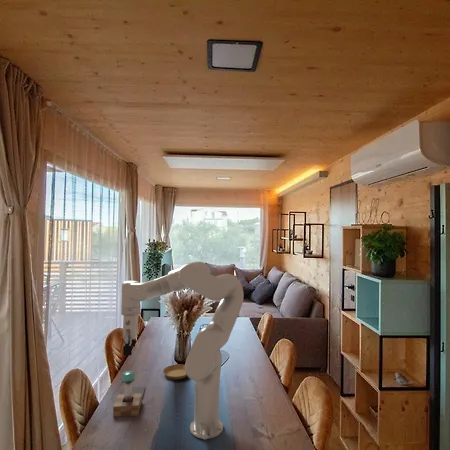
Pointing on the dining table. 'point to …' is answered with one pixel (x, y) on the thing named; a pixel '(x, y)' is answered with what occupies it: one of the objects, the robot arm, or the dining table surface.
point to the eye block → (127, 405)
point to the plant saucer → (175, 371)
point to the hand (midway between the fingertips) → (129, 350)
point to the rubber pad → (135, 390)
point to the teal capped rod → (128, 384)
